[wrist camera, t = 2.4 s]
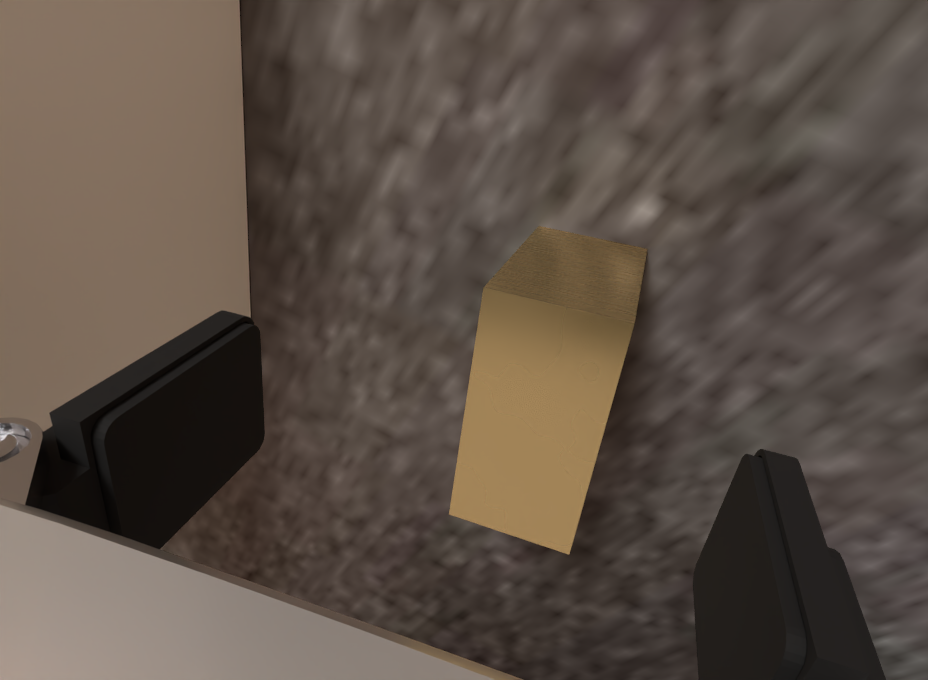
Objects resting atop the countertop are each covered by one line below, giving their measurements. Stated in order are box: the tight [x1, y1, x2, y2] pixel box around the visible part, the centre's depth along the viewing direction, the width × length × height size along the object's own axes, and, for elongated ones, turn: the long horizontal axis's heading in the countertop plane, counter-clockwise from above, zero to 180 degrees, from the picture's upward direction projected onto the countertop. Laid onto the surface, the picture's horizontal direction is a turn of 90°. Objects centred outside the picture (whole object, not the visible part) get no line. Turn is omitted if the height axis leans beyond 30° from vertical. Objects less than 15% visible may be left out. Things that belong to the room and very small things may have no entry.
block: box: [449, 226, 647, 554], centre depth 15 cm, size 6×3×6 cm, turn 172°
